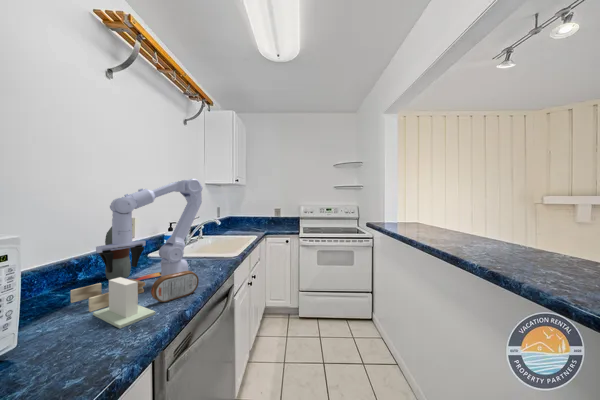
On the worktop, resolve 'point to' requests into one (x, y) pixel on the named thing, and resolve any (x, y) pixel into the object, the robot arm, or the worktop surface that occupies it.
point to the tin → (174, 286)
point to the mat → (123, 321)
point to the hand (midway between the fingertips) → (122, 269)
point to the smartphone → (146, 276)
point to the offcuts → (139, 285)
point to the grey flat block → (123, 296)
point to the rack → (91, 296)
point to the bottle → (118, 260)
